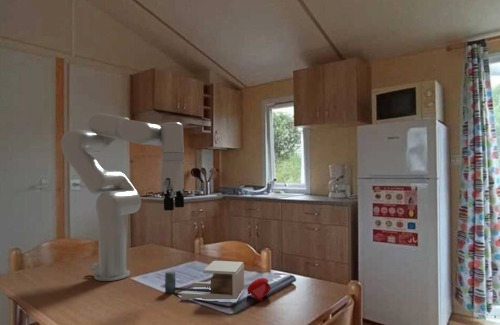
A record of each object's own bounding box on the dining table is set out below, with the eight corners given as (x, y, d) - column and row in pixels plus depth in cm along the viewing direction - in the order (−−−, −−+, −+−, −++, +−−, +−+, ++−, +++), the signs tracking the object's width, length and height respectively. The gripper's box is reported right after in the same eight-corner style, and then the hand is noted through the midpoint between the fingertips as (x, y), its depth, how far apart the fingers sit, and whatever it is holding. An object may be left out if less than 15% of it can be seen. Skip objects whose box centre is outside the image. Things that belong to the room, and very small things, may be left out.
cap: (275, 284, 111) (260, 273, 113) (272, 284, 105) (256, 271, 107) (260, 306, 109) (245, 294, 112) (256, 307, 104) (241, 294, 106)
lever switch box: (181, 299, 107) (181, 268, 107) (193, 287, 118) (193, 259, 118) (236, 303, 104) (236, 271, 104) (244, 290, 115) (243, 262, 115)
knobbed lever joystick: (161, 294, 111) (161, 275, 111) (169, 288, 117) (169, 270, 117) (232, 299, 107) (232, 279, 107) (237, 292, 113) (237, 273, 113)
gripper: (171, 160, 129) (173, 206, 129) (151, 158, 112) (153, 211, 112) (191, 159, 128) (193, 206, 128) (174, 157, 111) (175, 211, 111)
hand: (174, 208), depth 120 cm, fingers open, 9 cm apart
